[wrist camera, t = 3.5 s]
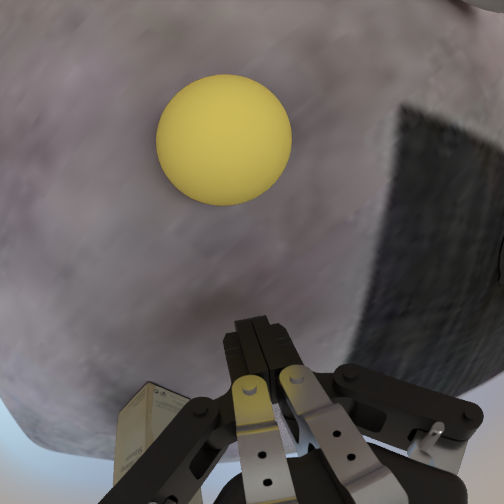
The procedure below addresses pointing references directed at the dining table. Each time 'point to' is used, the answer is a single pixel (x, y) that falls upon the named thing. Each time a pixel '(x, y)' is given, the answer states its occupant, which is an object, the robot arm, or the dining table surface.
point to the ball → (223, 140)
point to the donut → (488, 5)
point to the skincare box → (145, 427)
